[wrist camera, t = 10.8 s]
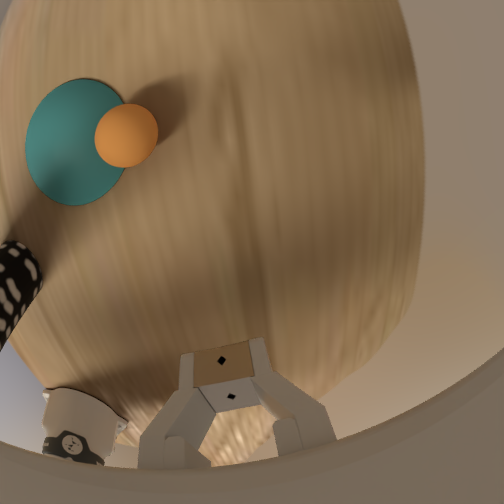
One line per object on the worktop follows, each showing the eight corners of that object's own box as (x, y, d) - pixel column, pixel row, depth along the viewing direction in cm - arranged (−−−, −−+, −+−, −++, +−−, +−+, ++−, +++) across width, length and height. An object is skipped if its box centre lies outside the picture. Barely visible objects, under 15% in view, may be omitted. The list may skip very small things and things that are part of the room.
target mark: (107, 222, 25) (106, 222, 25) (17, 183, 21) (16, 183, 21) (153, 99, 21) (153, 99, 21) (49, 69, 17) (48, 69, 17)
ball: (95, 130, 21) (137, 161, 24) (73, 155, 17) (125, 191, 20) (129, 85, 19) (174, 120, 22) (112, 100, 15) (168, 143, 18)
